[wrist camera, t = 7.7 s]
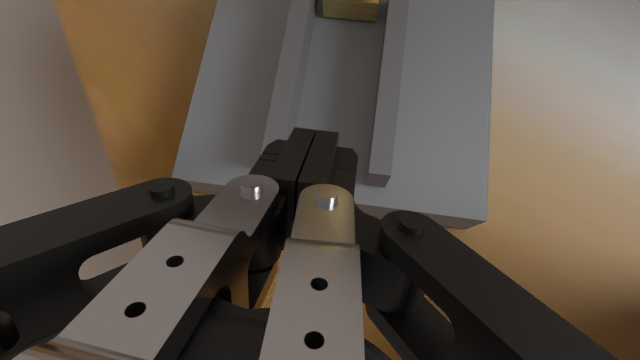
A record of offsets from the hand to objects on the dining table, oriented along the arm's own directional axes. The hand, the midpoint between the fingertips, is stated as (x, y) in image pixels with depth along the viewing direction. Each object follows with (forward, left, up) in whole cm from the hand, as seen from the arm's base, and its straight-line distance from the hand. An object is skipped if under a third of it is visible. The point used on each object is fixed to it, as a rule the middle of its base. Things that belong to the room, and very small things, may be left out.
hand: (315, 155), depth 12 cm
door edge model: (-10, -8, -9) cm, 16 cm away
